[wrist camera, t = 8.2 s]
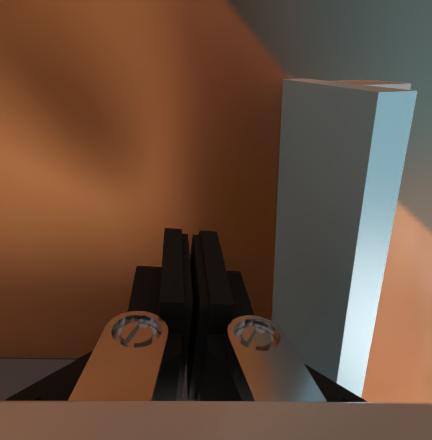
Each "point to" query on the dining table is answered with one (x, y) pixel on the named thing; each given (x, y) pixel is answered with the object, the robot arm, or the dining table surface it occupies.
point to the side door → (336, 216)
